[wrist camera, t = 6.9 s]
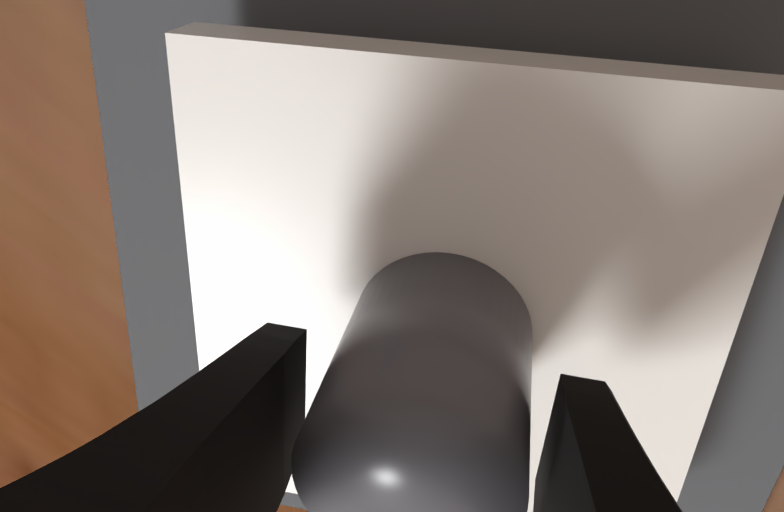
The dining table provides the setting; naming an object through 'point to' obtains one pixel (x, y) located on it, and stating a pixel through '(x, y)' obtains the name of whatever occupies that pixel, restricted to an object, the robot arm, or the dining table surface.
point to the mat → (451, 27)
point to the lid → (469, 245)
